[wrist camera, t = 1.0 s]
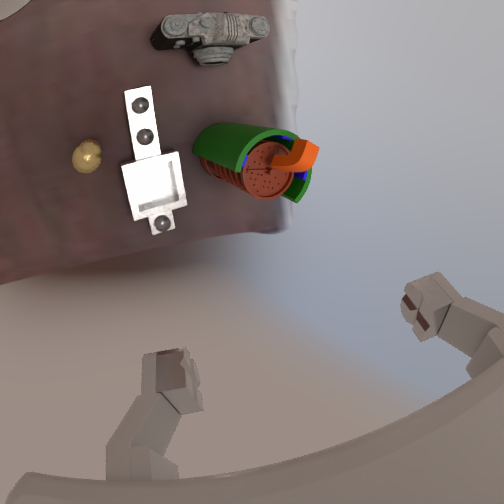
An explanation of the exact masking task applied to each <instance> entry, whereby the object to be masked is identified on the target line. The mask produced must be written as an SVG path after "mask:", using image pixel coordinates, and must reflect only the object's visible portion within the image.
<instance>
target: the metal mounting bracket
mask: <svg viewBox="0 0 504 504" xmlns="http://www.w3.org/2000/svg"><path fill="white" fill-rule="evenodd" d="M124 98H125V105H126V112H127V118H128V124H129V130H130V136H131V142H132V147H133V153H134V158H135V159H133V160H130V161H126V162H122V163H120V165H121V169H122V174H123V179H124V183H125V188H126V192H127V196H128V200H129V204H130V208H131V212H132V216H133V218H134V221H136V220H139V219H142V218H146V217H147V218H148V222H149V226H150V230H151V232H152V234H153V235H155V234H158V233H161V232H165V231H168V230H171V229H174V228H175V225H174V220H173V215H172V210H173V209H176V208H180V207H183V206H187V201H186V195H185V190H184V184H183V178H182V172H181V166H180V160H179V154H178V151H175V150H169V151H165V152H160V146H159V140H158V134H157V128H156V121H155V115H154V108H153V101H152V93H151V86H147V87H142V88H138V89H133V90H128V91H125V92H124Z"/></svg>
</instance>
